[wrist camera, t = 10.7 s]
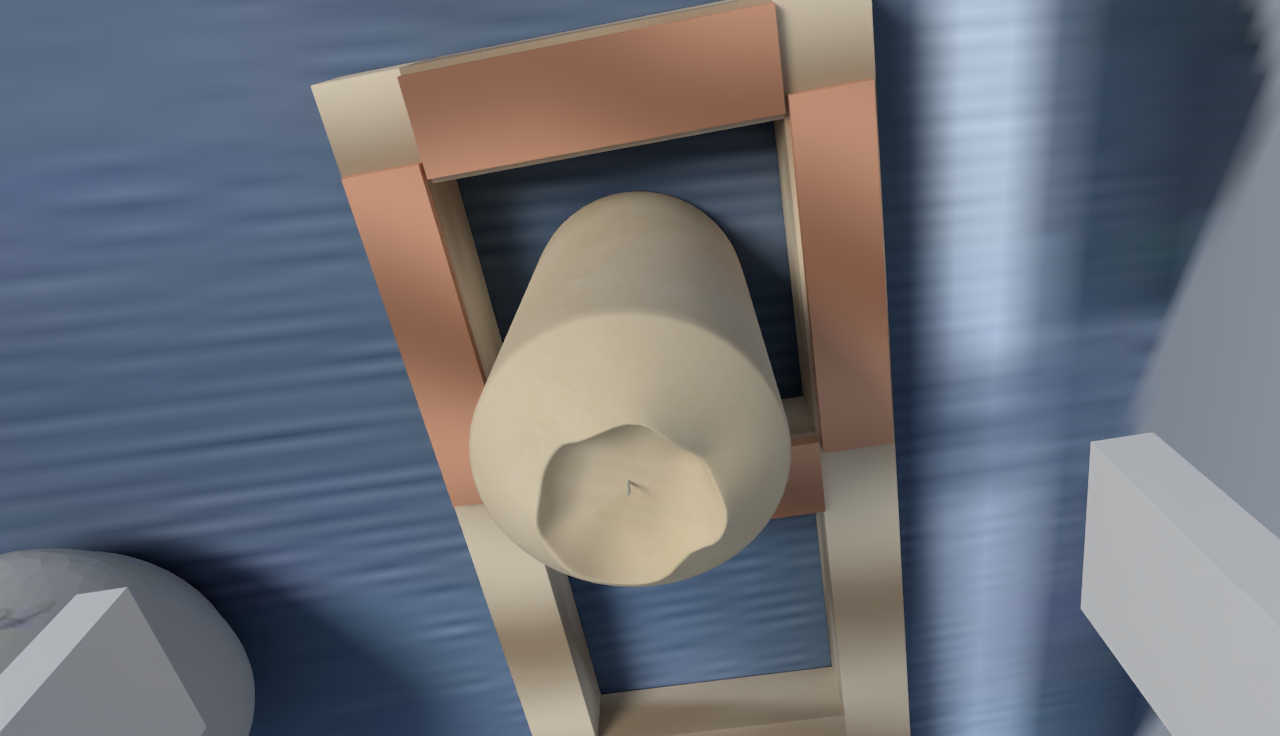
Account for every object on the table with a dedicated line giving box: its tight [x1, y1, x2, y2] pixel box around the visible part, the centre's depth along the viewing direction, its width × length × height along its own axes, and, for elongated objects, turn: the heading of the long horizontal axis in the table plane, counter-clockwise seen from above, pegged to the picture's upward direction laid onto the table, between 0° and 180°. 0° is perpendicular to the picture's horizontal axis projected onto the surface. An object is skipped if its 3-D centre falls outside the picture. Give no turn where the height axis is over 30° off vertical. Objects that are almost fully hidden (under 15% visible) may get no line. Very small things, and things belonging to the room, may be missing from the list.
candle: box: [469, 191, 791, 587], centre depth 17 cm, size 6×6×10 cm
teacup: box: [0, 548, 255, 736], centre depth 23 cm, size 14×11×8 cm
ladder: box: [311, 0, 910, 736], centre depth 25 cm, size 34×12×2 cm, turn 10°
